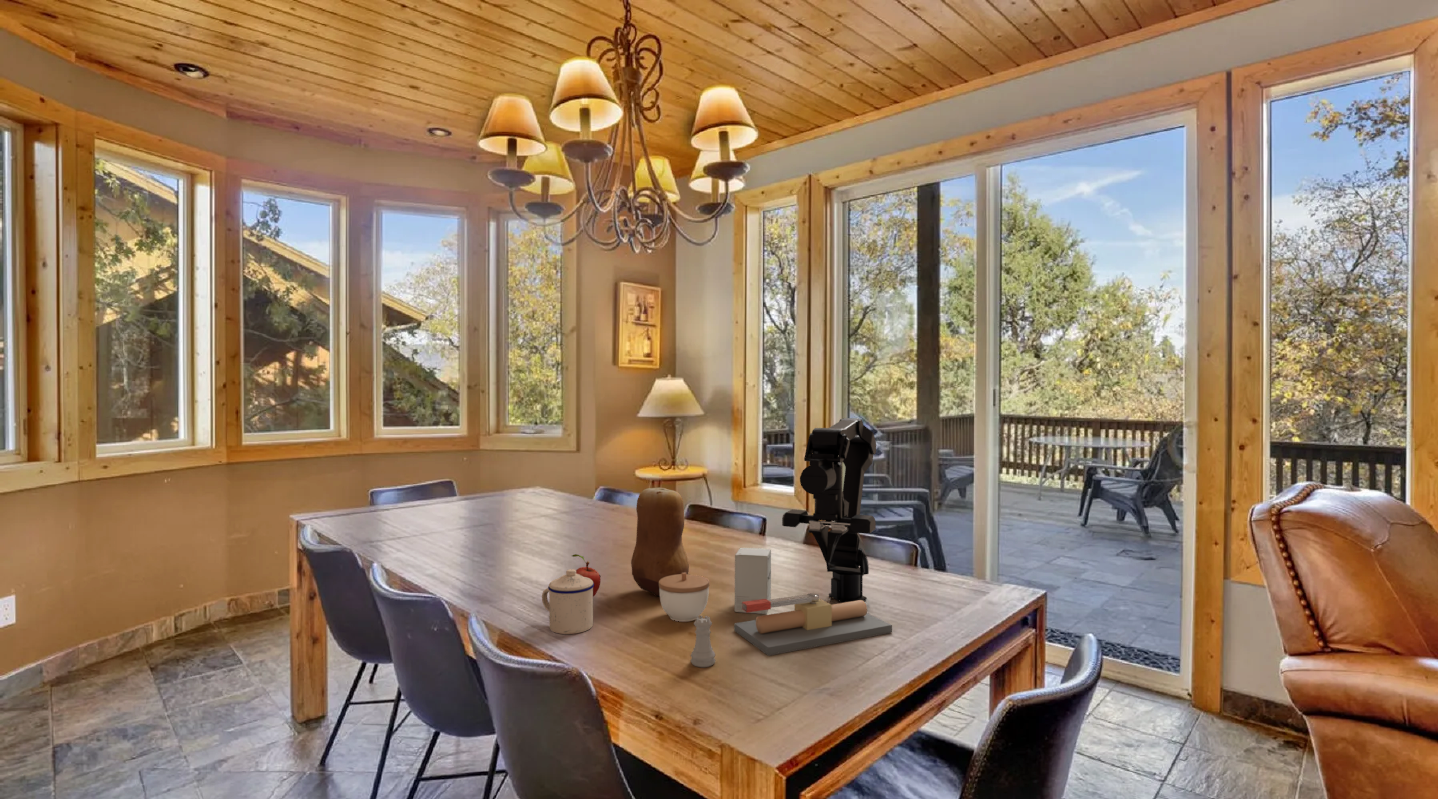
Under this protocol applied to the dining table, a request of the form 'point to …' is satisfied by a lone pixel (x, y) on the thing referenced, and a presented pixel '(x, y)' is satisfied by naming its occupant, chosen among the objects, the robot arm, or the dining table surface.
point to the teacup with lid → (570, 603)
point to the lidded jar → (684, 596)
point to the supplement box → (752, 576)
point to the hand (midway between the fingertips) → (828, 562)
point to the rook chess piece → (703, 644)
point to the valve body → (811, 626)
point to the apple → (589, 575)
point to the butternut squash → (658, 538)
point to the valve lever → (778, 602)
